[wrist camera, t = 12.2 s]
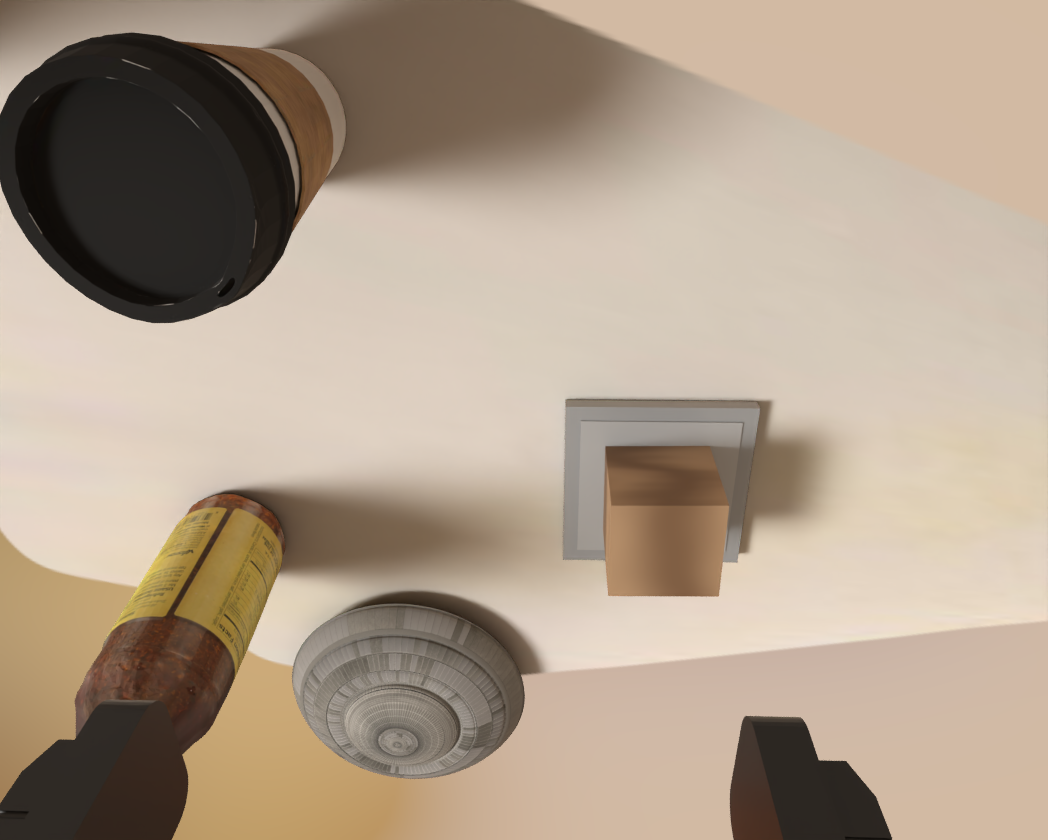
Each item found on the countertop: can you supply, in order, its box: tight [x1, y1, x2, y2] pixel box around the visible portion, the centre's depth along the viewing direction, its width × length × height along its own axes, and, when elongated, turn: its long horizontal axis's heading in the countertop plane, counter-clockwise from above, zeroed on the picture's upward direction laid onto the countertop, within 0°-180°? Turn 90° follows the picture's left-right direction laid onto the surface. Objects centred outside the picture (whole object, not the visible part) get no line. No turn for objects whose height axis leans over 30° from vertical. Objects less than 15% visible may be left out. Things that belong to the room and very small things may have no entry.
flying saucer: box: [292, 604, 525, 779], centre depth 50 cm, size 15×15×6 cm
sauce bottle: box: [75, 494, 285, 754], centre depth 39 cm, size 7×6×20 cm
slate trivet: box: [563, 400, 760, 562], centre depth 44 cm, size 10×10×1 cm
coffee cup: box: [0, 33, 346, 323], centre depth 29 cm, size 8×8×15 cm
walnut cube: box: [603, 446, 729, 596], centre depth 41 cm, size 6×6×6 cm
